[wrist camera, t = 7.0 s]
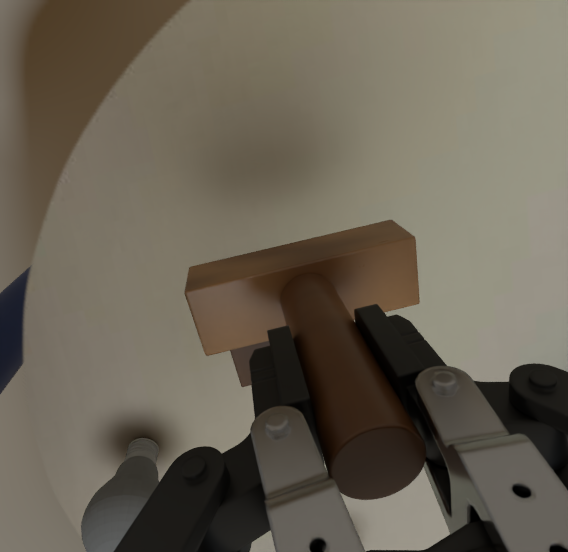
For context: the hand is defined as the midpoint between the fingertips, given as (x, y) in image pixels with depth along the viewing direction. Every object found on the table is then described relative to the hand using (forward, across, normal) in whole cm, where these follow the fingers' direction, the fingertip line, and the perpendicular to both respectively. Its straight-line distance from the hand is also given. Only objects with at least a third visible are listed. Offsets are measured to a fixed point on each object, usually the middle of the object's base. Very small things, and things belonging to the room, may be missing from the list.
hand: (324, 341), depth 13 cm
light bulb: (+18, +15, +18) cm, 30 cm away
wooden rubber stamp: (+6, 0, 0) cm, 6 cm away
